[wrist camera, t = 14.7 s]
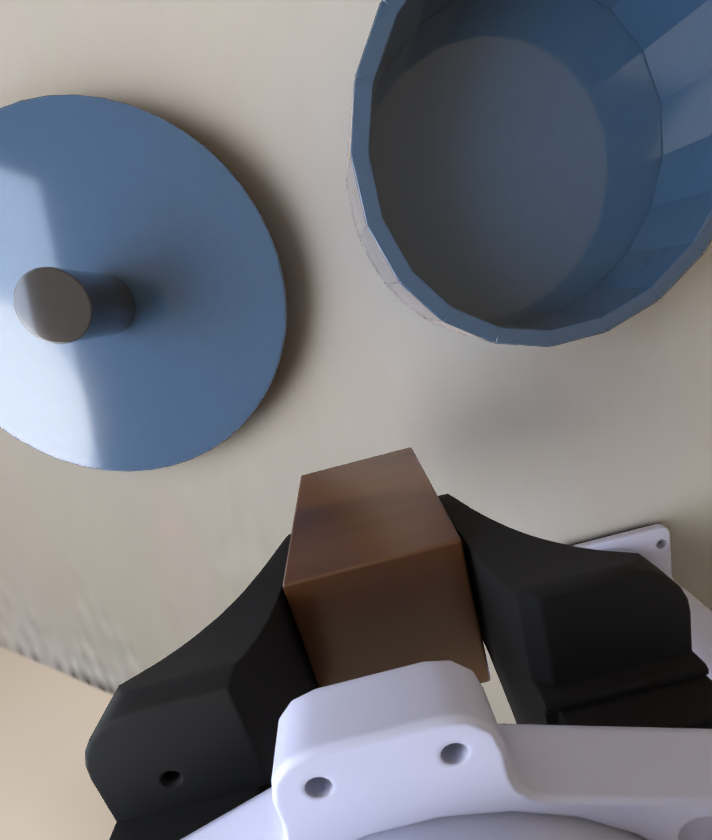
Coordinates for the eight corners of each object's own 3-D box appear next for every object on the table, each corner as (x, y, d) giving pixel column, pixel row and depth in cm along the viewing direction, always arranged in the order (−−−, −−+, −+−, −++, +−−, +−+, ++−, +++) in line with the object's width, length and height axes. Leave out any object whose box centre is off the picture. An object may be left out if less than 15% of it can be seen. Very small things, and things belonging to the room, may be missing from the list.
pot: (673, 294, 19) (757, 292, 15) (388, 368, 19) (402, 385, 16) (659, -75, 15) (766, -195, 12) (307, 21, 16) (300, -66, 12)
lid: (327, 418, 20) (326, 451, 16) (33, 495, 20) (-46, 548, 16) (224, 62, 16) (186, -24, 12) (-141, 163, 16) (-309, 114, 12)
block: (433, 543, 16) (491, 681, 10) (330, 570, 16) (330, 722, 10) (411, 446, 15) (462, 539, 9) (300, 475, 15) (280, 586, 9)
